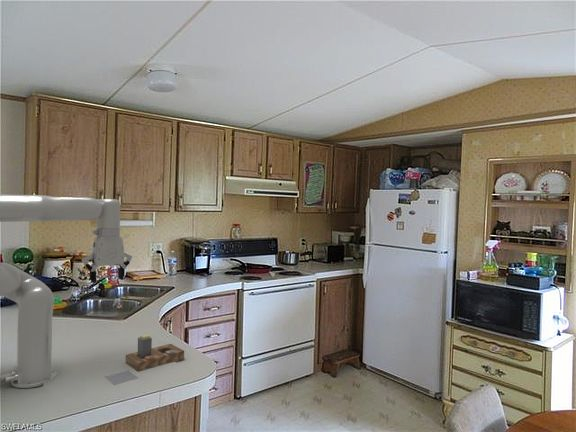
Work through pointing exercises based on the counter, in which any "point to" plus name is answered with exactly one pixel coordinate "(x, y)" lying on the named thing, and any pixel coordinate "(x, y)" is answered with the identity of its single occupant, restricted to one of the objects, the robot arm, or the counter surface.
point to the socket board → (155, 357)
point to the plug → (144, 346)
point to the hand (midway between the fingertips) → (107, 280)
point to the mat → (121, 377)
